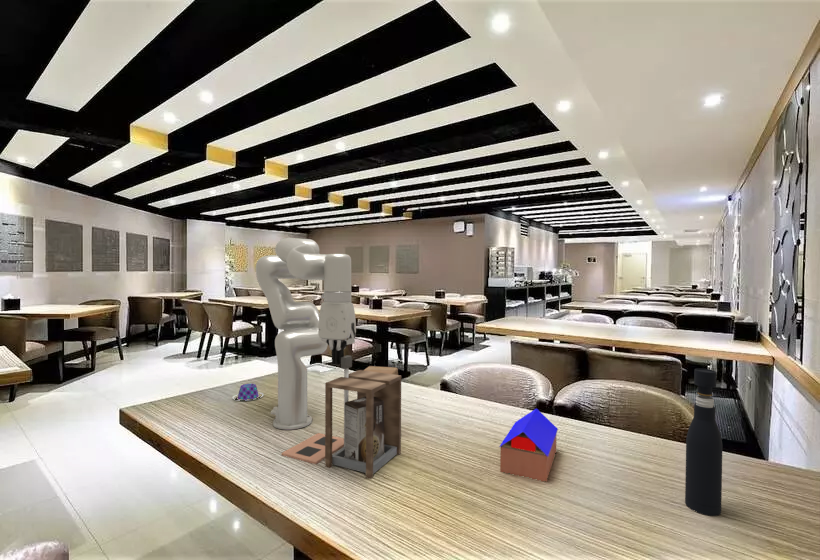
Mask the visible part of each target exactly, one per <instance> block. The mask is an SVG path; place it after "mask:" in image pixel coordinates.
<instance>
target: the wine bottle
mask: <svg viewBox="0 0 820 560" xmlns="http://www.w3.org/2000/svg"><path fill="white" fill-rule="evenodd" d="M693 374H694V378H693V379H694V381H693V385H695V386H697V395H696V397H695V401H694V402H695V403H694V405H693V418H692V420H691V422H690V424H689V426H688V430H687V434H686V439H685V480H684V481H685V482H684V483H685V485H684V487H685V489H684V491H685V492H684V494H685V495H684V503H685V505H686V507H688V508H689V507H690V508H691V509H690V508H689V509H690V510H692V509H693V510H695V511H694V512H696V511H697V512H696V513H698V514H701V515H704V516H710V517H711V516H712V517H716V516H720V515H721V514H722V496H723V493H722V492H723V489H722V488H723V487H722V484H723V441H722V440H723V439H722V435H721V432H720V429H719V427H718V424H717V421H716V407H715V400H714V397H713V389H714V388H717V371H715V370H713V369H707V368H694V373H693ZM693 510H692V511H693Z"/></svg>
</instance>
